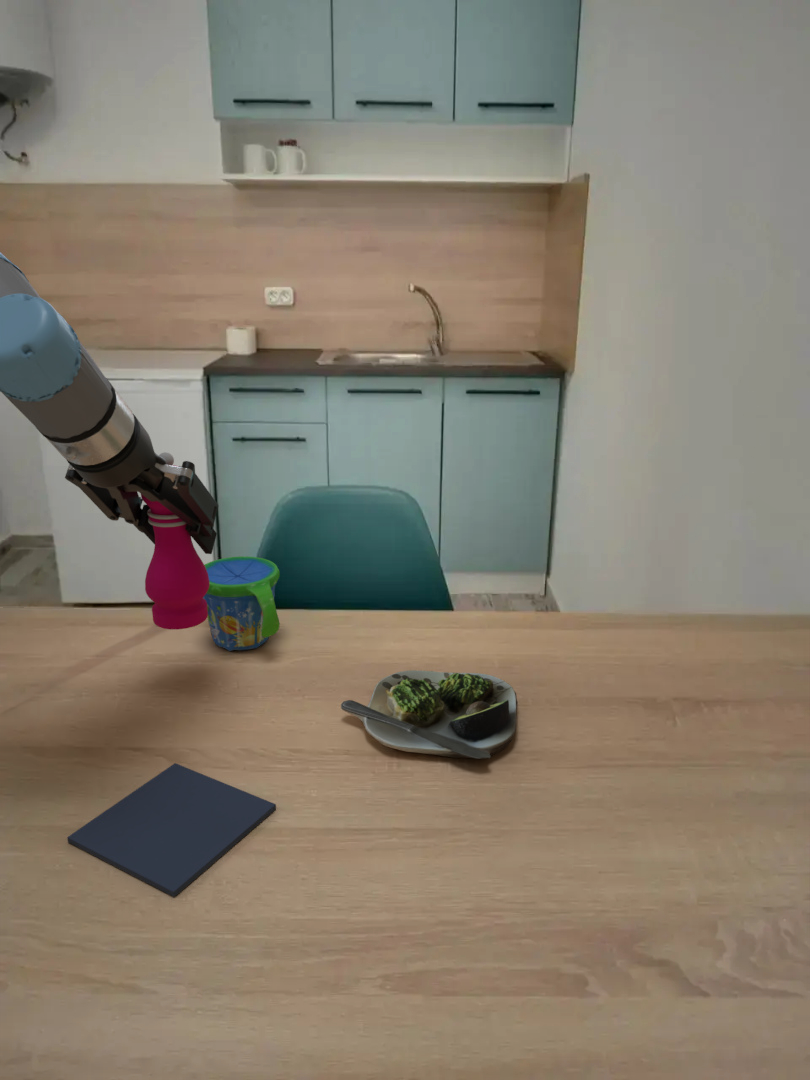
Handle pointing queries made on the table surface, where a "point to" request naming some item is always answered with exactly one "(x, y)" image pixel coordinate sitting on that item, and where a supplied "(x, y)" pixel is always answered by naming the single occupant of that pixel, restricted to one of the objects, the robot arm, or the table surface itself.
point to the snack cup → (242, 601)
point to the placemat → (172, 827)
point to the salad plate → (440, 713)
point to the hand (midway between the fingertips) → (188, 541)
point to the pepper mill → (174, 570)
